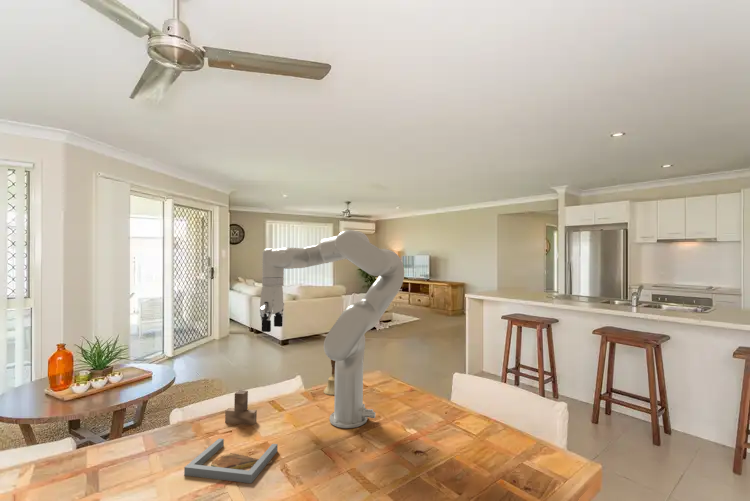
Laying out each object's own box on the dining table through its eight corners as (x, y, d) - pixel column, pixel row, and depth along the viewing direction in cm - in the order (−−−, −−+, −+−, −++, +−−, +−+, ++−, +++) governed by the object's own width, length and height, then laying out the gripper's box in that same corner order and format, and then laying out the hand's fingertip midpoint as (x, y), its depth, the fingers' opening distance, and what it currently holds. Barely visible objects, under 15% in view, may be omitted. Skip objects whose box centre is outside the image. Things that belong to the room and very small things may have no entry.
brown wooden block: (257, 421, 119) (257, 391, 119) (252, 425, 116) (253, 394, 116) (229, 419, 120) (229, 389, 121) (224, 423, 117) (224, 392, 118)
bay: (277, 451, 101) (277, 444, 101) (251, 483, 86) (251, 474, 86) (218, 445, 104) (218, 438, 104) (184, 475, 89) (184, 467, 89)
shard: (261, 465, 95) (262, 458, 95) (242, 481, 88) (242, 474, 88) (229, 457, 99) (229, 450, 99) (207, 472, 91) (207, 465, 91)
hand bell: (319, 391, 146) (319, 351, 147) (336, 386, 152) (336, 348, 152) (331, 397, 140) (331, 356, 140) (348, 391, 146) (348, 352, 146)
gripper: (273, 280, 140) (273, 324, 140) (251, 283, 123) (250, 333, 123) (292, 280, 139) (291, 325, 139) (272, 283, 122) (271, 334, 122)
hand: (272, 328), depth 131 cm, fingers open, 9 cm apart
